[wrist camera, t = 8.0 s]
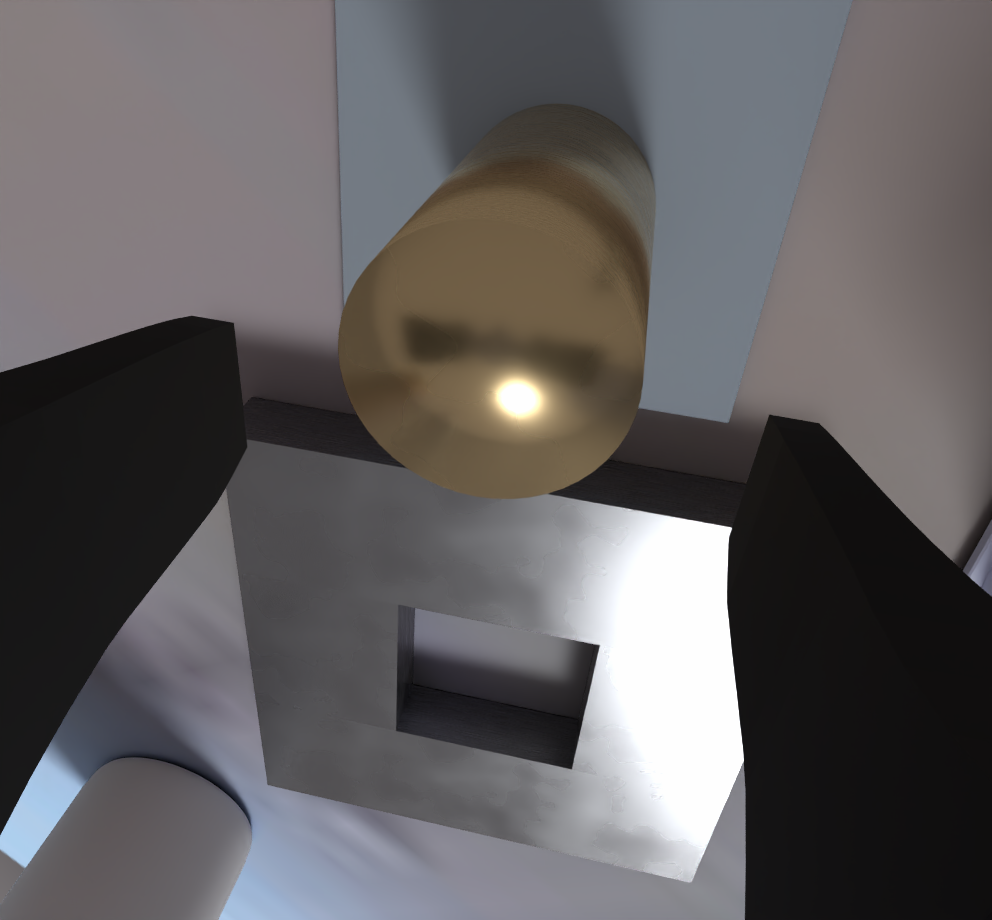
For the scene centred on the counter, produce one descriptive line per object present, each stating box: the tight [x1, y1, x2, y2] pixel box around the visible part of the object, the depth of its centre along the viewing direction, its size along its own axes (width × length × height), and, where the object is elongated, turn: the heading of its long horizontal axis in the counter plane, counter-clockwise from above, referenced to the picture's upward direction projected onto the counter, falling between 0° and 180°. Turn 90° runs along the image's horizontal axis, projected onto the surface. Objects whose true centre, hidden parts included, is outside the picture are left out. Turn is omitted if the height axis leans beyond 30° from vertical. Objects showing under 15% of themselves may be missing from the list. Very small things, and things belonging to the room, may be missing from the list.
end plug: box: [338, 104, 656, 499], centre depth 15 cm, size 4×4×8 cm
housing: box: [226, 397, 746, 883], centre depth 26 cm, size 16×16×2 cm
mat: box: [335, 0, 853, 423], centre depth 18 cm, size 10×10×1 cm
